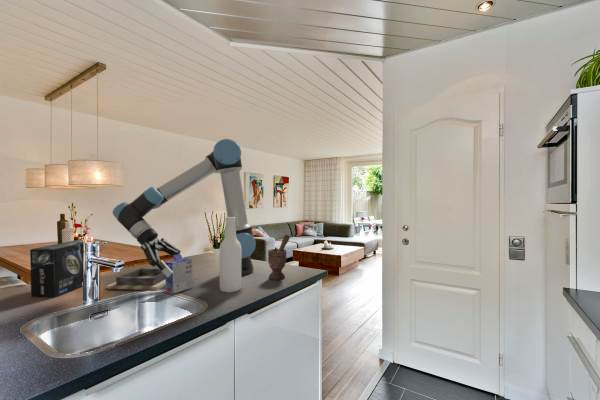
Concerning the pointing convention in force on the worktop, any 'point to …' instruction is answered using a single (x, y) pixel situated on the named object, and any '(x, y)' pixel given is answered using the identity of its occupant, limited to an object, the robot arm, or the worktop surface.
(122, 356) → the worktop surface
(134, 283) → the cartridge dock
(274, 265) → the mortar and pestle
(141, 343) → the worktop surface
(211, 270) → the worktop surface
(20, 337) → the worktop surface
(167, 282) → the ink cartridge box
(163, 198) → the robot arm
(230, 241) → the alcohol
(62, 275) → the box
